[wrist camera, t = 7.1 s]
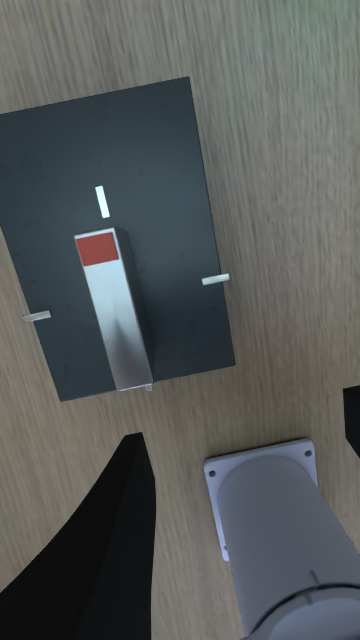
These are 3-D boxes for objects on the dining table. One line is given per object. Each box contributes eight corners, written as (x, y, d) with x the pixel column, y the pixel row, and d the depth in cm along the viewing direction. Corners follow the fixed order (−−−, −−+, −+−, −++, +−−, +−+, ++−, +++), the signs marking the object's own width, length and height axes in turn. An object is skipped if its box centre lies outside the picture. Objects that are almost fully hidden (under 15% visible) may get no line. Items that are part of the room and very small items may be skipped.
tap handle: (155, 352, 16) (153, 387, 12) (126, 358, 16) (115, 395, 12) (126, 229, 15) (114, 225, 11) (94, 236, 15) (69, 234, 11)
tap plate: (231, 351, 20) (243, 371, 17) (71, 384, 20) (54, 410, 17) (190, 104, 16) (197, 72, 13) (-7, 144, 16) (-47, 121, 13)
